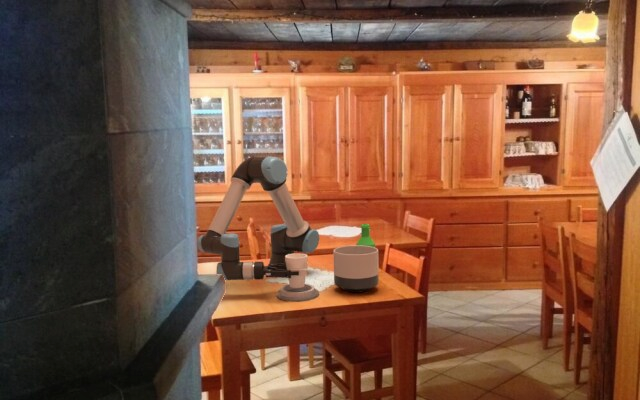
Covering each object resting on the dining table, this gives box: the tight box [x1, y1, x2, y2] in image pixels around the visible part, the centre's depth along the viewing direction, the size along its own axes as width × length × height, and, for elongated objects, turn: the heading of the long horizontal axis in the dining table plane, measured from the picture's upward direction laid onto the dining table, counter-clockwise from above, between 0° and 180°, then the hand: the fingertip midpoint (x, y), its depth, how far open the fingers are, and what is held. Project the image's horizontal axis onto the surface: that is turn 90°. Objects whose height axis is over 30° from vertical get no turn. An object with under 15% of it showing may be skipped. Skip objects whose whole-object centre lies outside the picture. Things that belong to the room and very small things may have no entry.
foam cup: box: [285, 252, 309, 288], centre depth 227 cm, size 10×9×13 cm
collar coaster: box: [276, 283, 320, 302], centre depth 228 cm, size 18×18×3 cm
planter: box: [332, 244, 380, 293], centre depth 233 cm, size 19×19×18 cm
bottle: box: [355, 223, 376, 248], centre depth 254 cm, size 9×9×25 cm
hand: (307, 269), depth 227 cm, fingers closed on foam cup, 9 cm apart
